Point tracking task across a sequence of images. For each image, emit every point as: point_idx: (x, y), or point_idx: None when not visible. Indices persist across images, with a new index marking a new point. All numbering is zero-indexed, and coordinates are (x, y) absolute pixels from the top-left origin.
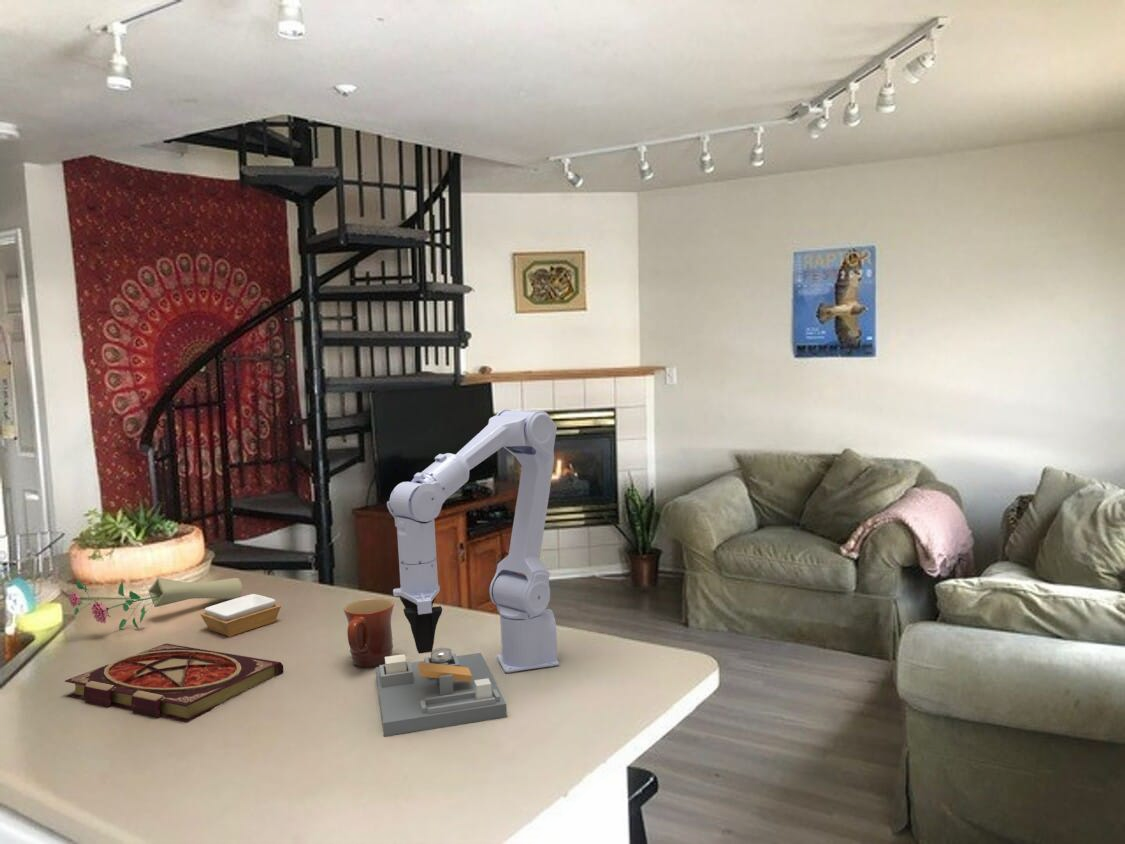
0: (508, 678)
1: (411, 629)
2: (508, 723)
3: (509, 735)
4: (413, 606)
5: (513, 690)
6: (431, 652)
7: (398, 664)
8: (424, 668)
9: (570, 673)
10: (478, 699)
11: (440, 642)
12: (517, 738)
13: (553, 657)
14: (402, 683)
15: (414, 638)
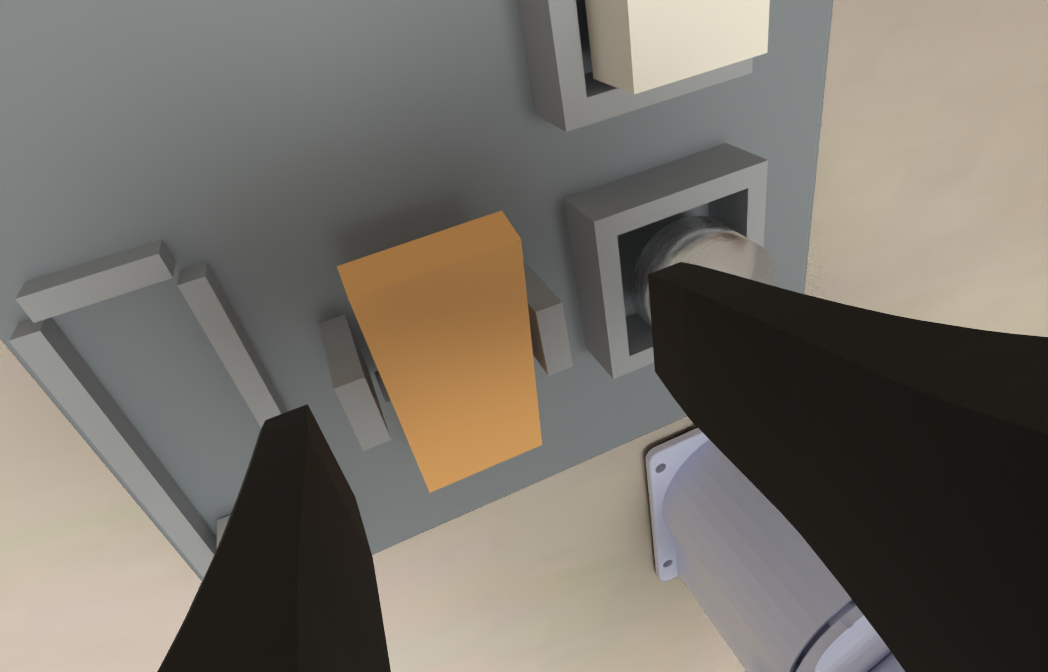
0: (602, 467)
1: (723, 303)
2: (163, 590)
3: (32, 630)
4: (979, 529)
5: (490, 513)
6: (730, 245)
7: (618, 26)
8: (394, 306)
9: (592, 616)
10: (218, 542)
11: (1042, 119)
12: (6, 663)
13: (684, 579)
14: (524, 40)
15: (219, 551)
